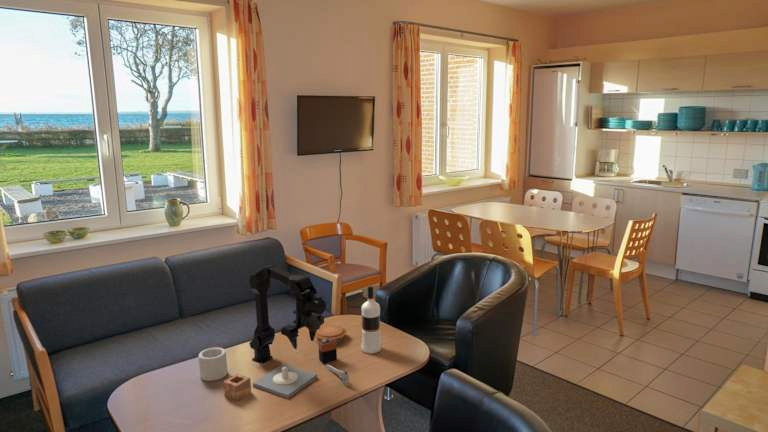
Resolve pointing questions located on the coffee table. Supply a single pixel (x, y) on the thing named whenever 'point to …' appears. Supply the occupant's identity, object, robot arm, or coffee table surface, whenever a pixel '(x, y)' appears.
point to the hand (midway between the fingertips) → (303, 344)
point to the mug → (212, 364)
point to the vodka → (371, 325)
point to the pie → (330, 333)
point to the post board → (285, 380)
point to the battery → (327, 350)
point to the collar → (237, 387)
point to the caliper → (340, 374)
